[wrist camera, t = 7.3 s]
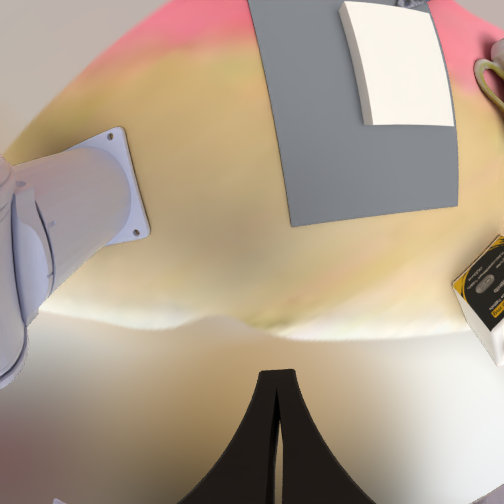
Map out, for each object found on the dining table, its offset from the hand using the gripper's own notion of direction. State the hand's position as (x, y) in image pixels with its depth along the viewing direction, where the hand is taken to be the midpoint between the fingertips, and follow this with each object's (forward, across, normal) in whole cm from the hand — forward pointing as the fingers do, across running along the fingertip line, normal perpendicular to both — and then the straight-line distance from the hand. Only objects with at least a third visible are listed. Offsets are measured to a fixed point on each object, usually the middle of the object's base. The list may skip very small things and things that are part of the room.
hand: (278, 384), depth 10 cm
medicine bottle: (+10, -20, +4) cm, 23 cm away
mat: (+10, -7, -12) cm, 17 cm away
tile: (+9, -6, -13) cm, 17 cm away
